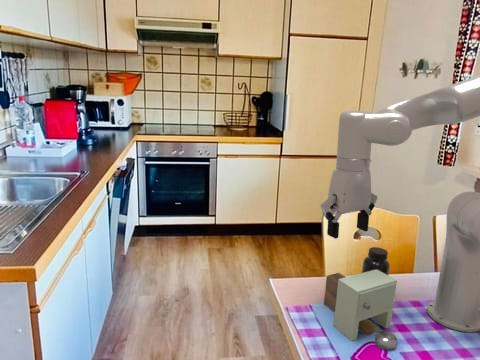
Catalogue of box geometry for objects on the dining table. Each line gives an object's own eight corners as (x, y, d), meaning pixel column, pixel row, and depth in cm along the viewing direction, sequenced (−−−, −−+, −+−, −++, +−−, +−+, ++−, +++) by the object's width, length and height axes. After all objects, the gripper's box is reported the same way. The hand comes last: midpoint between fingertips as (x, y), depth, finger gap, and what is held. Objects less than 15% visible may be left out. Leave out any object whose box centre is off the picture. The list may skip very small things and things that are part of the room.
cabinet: (370, 313, 97) (376, 269, 94) (394, 329, 90) (401, 282, 88) (333, 326, 91) (338, 279, 88) (355, 344, 85) (361, 294, 82)
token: (384, 336, 88) (385, 328, 88) (400, 347, 84) (401, 339, 84) (370, 341, 86) (371, 333, 86) (386, 353, 82) (387, 345, 82)
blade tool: (335, 300, 102) (338, 272, 100) (378, 331, 90) (383, 300, 88) (323, 304, 100) (326, 275, 98) (366, 336, 88) (370, 304, 86)
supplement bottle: (364, 297, 104) (369, 255, 101) (356, 284, 111) (361, 245, 108) (390, 297, 104) (395, 256, 102) (380, 284, 111) (385, 245, 108)
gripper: (367, 158, 99) (361, 222, 103) (313, 165, 91) (310, 234, 95) (391, 163, 93) (384, 231, 97) (336, 171, 84) (331, 245, 88)
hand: (347, 233), depth 96 cm, fingers open, 9 cm apart
